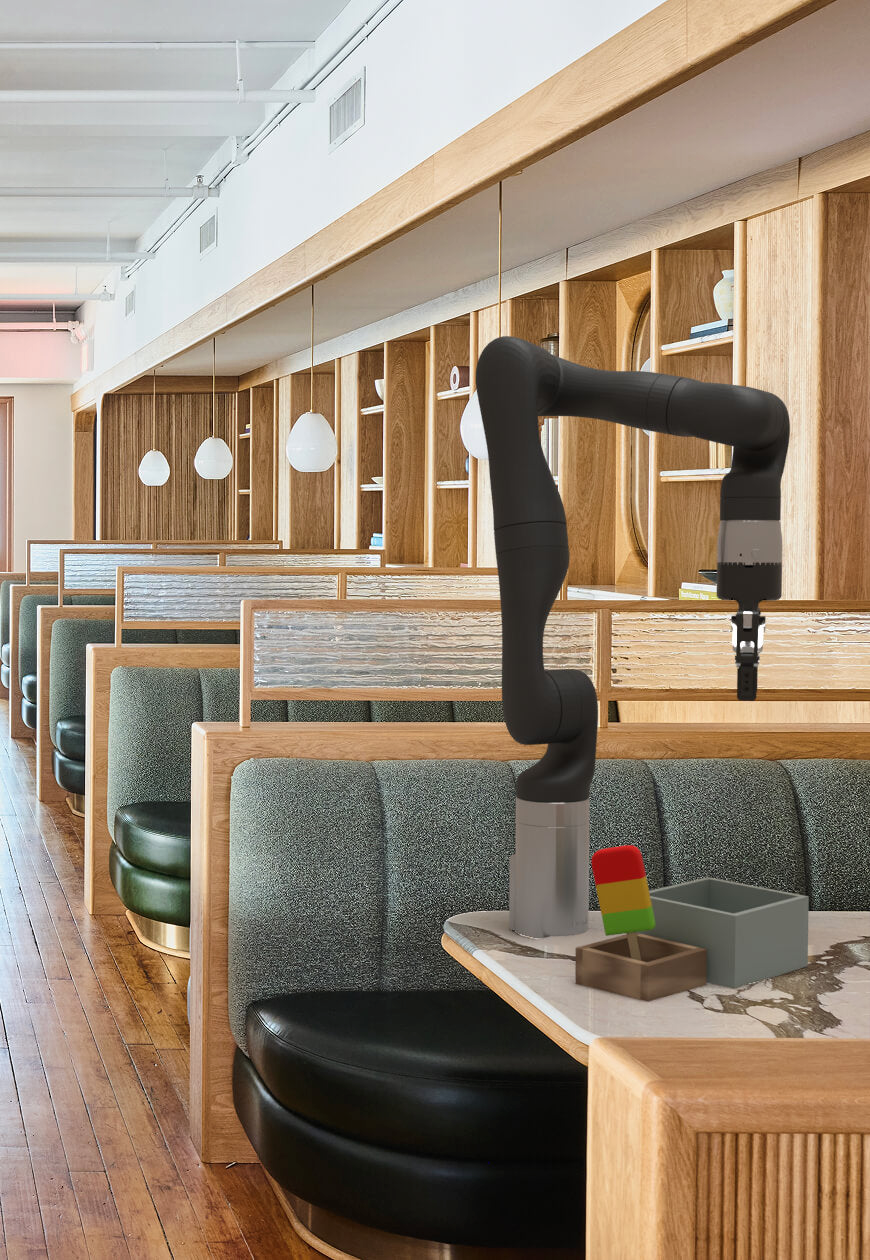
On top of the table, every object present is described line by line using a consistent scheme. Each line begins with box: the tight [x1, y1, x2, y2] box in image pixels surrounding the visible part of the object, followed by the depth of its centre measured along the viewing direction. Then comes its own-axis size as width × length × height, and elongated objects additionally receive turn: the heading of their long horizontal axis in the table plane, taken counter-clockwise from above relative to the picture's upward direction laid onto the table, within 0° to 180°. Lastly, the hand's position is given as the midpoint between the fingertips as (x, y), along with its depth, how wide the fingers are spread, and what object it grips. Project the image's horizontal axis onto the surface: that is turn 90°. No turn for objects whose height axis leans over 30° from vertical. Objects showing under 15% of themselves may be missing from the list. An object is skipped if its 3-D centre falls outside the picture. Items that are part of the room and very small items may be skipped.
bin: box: [636, 877, 810, 990], centre depth 169 cm, size 14×14×8 cm
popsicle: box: [590, 844, 656, 961], centre depth 161 cm, size 6×15×2 cm
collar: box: [574, 933, 707, 1003], centre depth 161 cm, size 10×10×4 cm
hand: (747, 697), depth 175 cm, fingers open, 8 cm apart
